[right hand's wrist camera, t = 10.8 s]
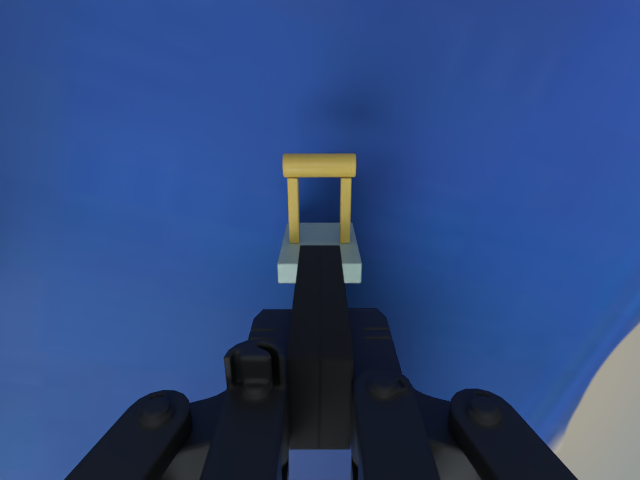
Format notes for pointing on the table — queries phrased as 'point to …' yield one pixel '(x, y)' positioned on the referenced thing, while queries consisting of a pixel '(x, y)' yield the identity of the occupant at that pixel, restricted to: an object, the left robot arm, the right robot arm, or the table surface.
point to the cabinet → (319, 464)
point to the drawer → (319, 232)
